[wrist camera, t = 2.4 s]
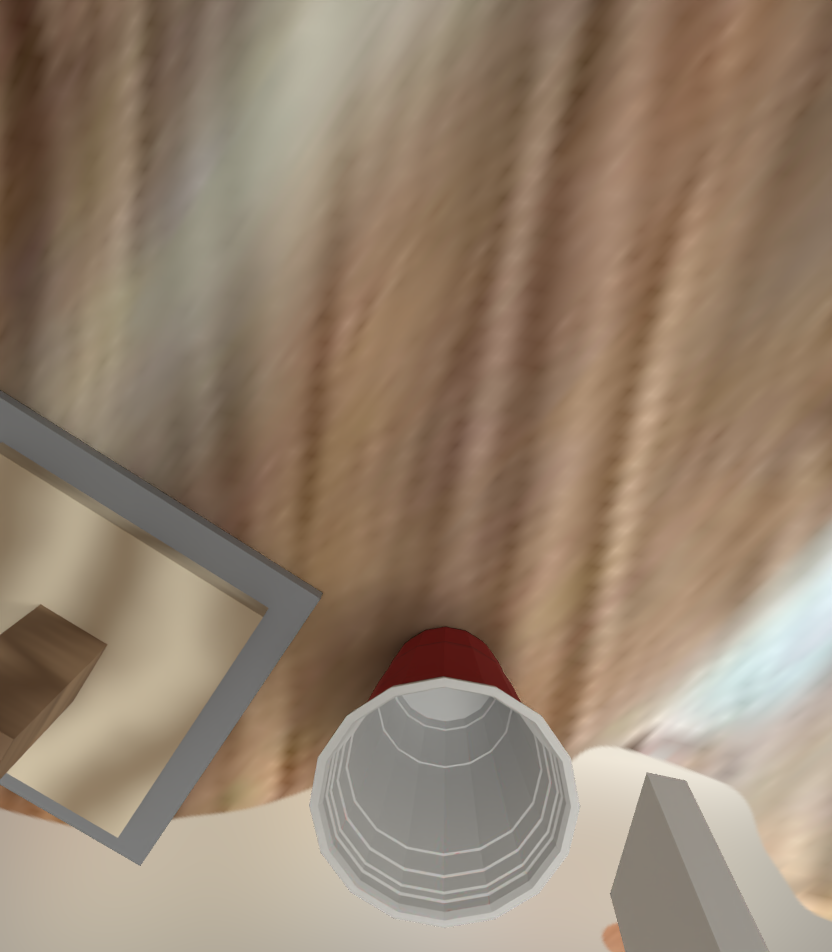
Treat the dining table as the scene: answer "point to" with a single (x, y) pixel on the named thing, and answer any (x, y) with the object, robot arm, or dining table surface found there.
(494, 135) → the dining table surface
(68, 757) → the lid
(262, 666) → the mat
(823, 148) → the dining table surface
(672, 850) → the robot arm
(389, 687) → the plastic cup
